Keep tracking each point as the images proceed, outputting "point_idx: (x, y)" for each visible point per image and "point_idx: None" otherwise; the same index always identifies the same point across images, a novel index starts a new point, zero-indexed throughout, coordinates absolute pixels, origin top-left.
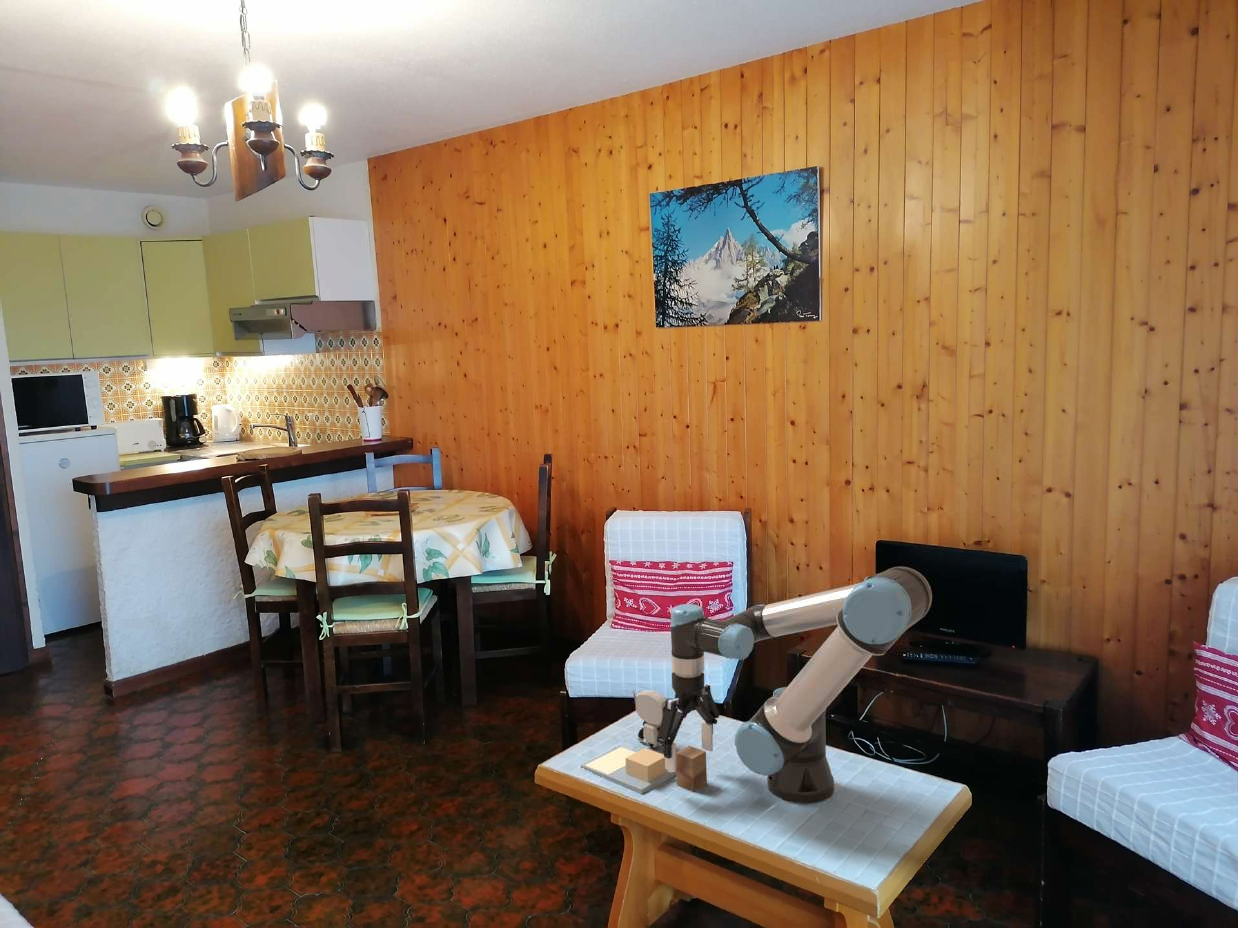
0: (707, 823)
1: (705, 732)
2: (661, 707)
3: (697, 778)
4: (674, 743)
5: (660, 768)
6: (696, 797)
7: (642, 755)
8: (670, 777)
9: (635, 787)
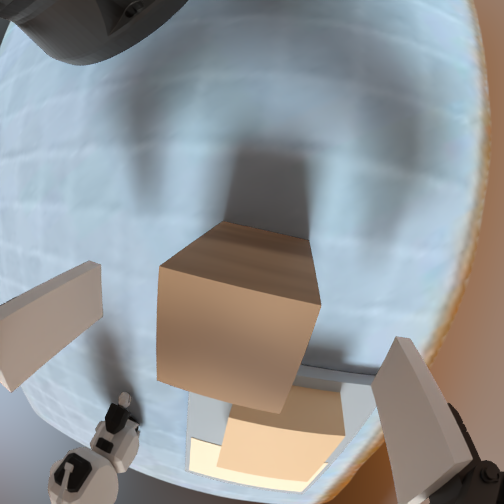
0: (472, 111)
1: (39, 338)
2: (80, 497)
3: (280, 245)
4: (447, 469)
5: None
6: (346, 210)
7: (269, 463)
8: None
9: None
